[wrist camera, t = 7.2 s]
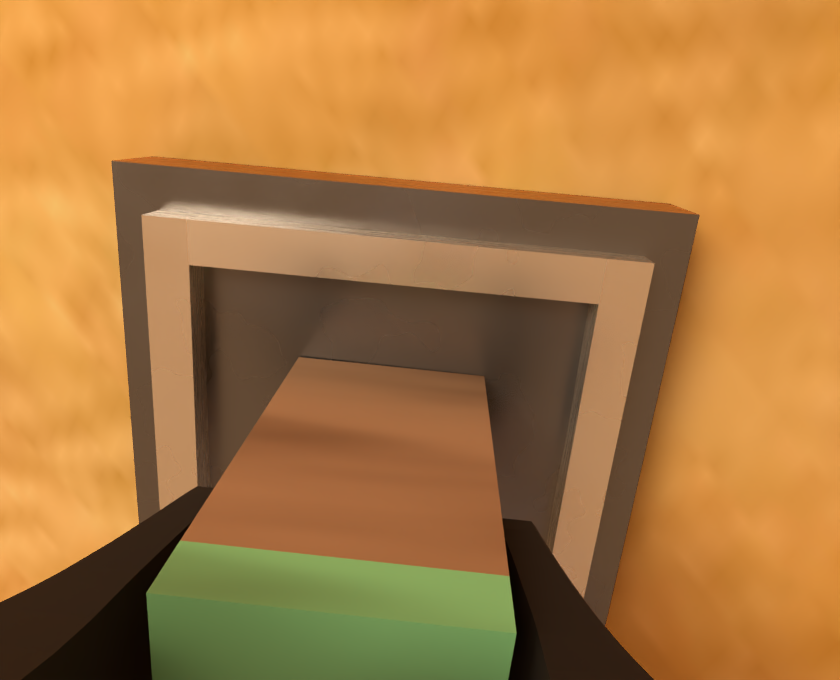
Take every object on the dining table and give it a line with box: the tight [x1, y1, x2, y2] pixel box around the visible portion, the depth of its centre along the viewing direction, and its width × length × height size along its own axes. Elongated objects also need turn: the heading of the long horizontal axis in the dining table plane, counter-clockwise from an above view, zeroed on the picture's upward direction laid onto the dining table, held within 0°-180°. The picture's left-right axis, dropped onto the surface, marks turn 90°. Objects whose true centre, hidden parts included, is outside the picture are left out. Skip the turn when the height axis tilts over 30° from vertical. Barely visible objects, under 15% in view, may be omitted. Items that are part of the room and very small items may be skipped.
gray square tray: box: [112, 157, 699, 626], centre depth 16 cm, size 13×13×3 cm
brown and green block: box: [146, 357, 517, 680], centre depth 12 cm, size 4×4×8 cm
